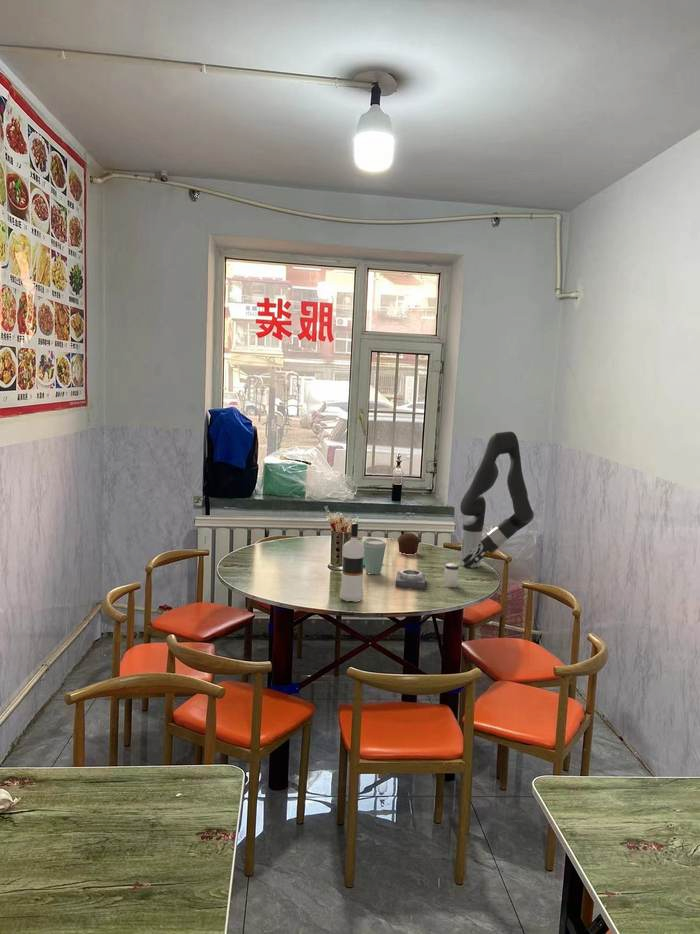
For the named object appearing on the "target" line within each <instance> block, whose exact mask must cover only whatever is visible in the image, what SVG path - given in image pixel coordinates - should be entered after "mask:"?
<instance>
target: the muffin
mask: <svg viewBox="0 0 700 934" xmlns="http://www.w3.org/2000/svg"><path fill="white" fill-rule="evenodd" d="M396 540H397V542H398V544H397V545H398V553H399V552H401V553H405V554H415V553H418V548H419V544H420V542H421V540H420V539H419V537H418V536H417V535H416V534H415V533H413V532H405V533H402V534H401V535H399V537H398V538H397V539H396Z"/></svg>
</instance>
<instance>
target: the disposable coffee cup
mask: <svg viewBox="0 0 700 934" xmlns="http://www.w3.org/2000/svg"><path fill="white" fill-rule="evenodd" d="M363 541H364V542H363ZM363 541H362V542H363V543H362V542H361V543H362V544H363V545H364V548H365V551H364V561H365V565H364V568H365V570H364V571H365V572H367V573H370V574H378V575H380V574H381V572H382V570H383V569H382V568H383V563H384V557H385V553H386V547H387V543H386V542H385V541H384V540H383V539H380V538H375V537H367V538H364V539H363ZM367 573H366V574H367ZM379 573H380V574H379ZM370 574H369V575H370Z"/></svg>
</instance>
